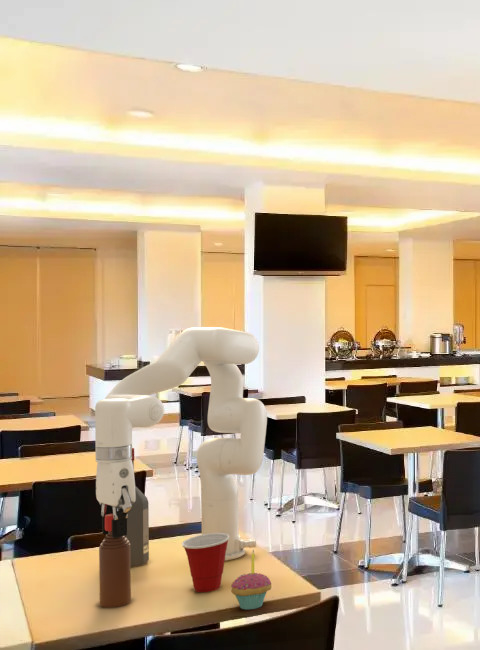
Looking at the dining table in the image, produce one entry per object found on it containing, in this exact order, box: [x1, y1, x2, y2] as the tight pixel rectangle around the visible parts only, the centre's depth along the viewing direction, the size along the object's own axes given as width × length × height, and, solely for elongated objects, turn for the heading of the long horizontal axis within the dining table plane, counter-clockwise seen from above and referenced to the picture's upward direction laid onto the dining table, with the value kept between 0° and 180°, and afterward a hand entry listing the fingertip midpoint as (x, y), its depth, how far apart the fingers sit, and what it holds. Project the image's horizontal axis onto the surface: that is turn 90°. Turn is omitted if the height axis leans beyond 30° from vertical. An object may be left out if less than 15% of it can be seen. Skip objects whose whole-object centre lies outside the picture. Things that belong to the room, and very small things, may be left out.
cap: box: [105, 513, 114, 531], centre depth 197 cm, size 4×4×3 cm
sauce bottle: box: [98, 531, 132, 609], centre depth 197 cm, size 6×6×19 cm
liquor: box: [105, 447, 150, 568], centre depth 228 cm, size 9×9×30 cm
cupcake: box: [230, 549, 272, 611], centre depth 193 cm, size 9×8×12 cm
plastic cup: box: [181, 533, 230, 593], centre depth 206 cm, size 11×11×12 cm
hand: (114, 534), depth 197 cm, fingers closed on cap, 3 cm apart
